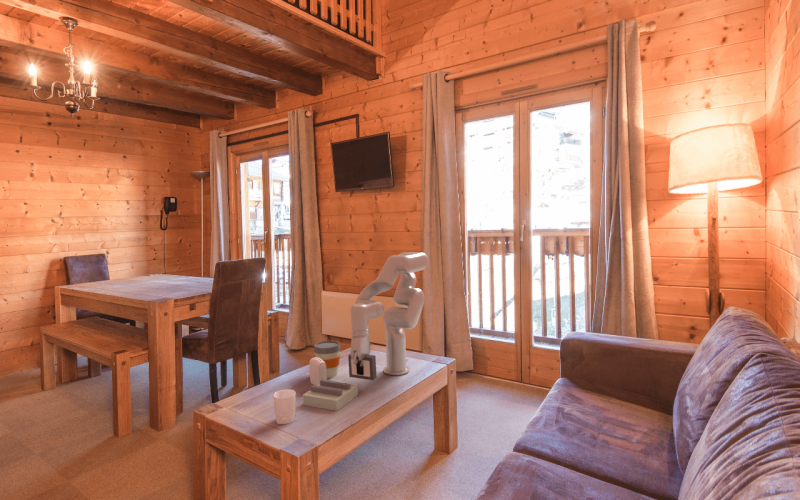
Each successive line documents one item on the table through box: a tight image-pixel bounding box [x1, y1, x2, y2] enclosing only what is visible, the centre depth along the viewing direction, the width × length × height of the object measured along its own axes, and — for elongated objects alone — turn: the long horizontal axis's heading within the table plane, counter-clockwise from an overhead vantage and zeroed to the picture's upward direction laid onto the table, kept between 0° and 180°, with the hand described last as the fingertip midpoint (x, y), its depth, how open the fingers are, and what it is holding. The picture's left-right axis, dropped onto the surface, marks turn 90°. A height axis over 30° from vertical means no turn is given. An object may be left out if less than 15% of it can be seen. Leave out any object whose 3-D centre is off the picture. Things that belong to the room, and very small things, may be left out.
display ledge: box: [302, 379, 359, 412], centre depth 164 cm, size 16×16×6 cm
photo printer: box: [309, 356, 328, 386], centre depth 180 cm, size 10×4×12 cm, turn 39°
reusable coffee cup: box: [313, 340, 341, 379], centre depth 192 cm, size 13×12×15 cm
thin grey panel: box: [347, 353, 378, 381], centre depth 176 cm, size 3×12×10 cm, turn 66°
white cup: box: [273, 389, 297, 425], centre depth 147 cm, size 8×8×10 cm
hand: (362, 372), depth 176 cm, fingers closed on thin grey panel, 3 cm apart
